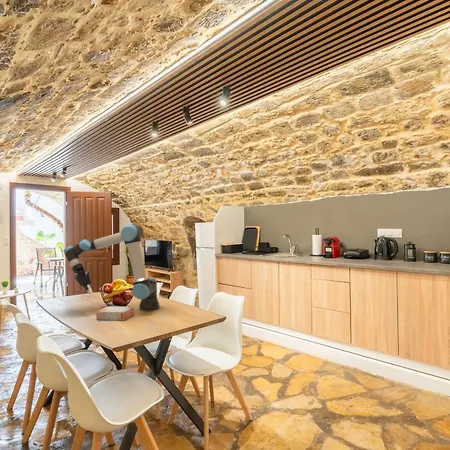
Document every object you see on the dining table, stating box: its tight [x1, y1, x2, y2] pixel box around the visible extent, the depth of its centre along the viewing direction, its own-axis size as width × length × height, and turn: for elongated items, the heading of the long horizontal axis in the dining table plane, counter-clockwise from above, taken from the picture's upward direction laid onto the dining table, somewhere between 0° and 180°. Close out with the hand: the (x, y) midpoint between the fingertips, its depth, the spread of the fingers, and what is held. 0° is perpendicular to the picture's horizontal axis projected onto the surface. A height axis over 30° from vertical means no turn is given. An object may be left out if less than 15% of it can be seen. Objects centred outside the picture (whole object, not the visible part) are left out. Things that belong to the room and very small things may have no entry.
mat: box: [97, 316, 132, 322], centre depth 236 cm, size 19×20×1 cm
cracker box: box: [95, 305, 135, 320], centre depth 235 cm, size 14×6×21 cm
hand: (90, 293), depth 243 cm, fingers closed
